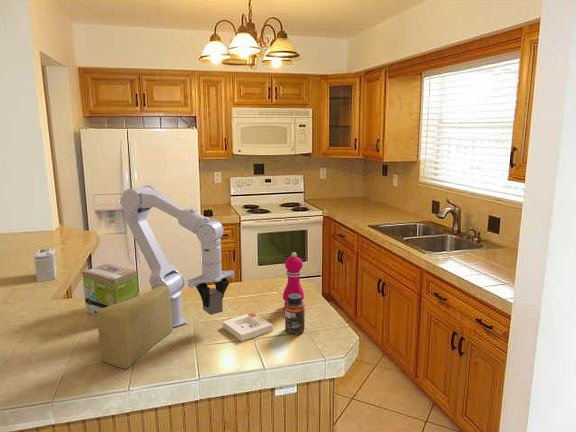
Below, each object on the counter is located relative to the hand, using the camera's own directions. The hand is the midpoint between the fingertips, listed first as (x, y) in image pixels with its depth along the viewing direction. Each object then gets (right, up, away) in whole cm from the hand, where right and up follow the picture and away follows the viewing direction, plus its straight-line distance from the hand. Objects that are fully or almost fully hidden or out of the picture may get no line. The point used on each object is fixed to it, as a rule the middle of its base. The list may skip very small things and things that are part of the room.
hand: (212, 304), depth 128 cm
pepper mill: (+25, -5, +18) cm, 31 cm away
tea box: (-36, -6, +13) cm, 38 cm away
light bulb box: (-76, +2, +46) cm, 89 cm away
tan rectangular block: (-18, -10, -9) cm, 22 cm away
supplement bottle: (+25, -9, +2) cm, 26 cm away
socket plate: (+10, -8, +2) cm, 13 cm away
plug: (0, -2, 0) cm, 2 cm away
